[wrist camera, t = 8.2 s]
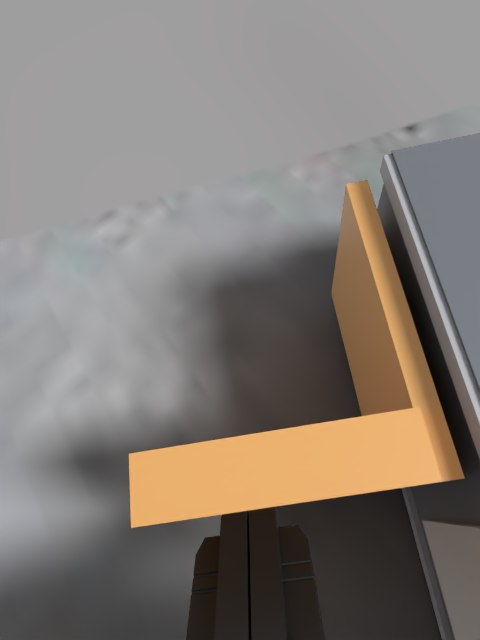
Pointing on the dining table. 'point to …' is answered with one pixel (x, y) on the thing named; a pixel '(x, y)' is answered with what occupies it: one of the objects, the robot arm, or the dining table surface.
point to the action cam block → (444, 353)
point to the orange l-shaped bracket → (328, 437)
